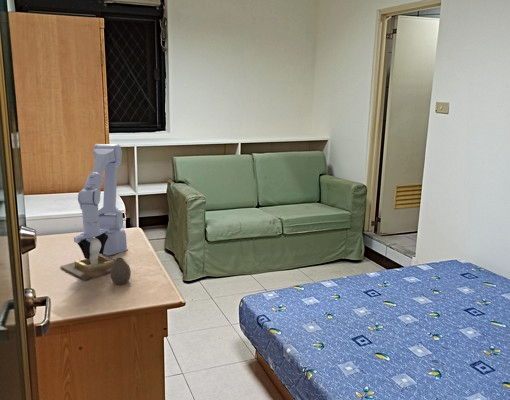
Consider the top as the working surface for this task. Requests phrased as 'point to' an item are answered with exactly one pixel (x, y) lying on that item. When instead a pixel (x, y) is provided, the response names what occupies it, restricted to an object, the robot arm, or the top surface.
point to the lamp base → (83, 274)
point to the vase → (120, 271)
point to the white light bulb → (94, 250)
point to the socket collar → (82, 265)
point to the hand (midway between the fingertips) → (94, 255)
